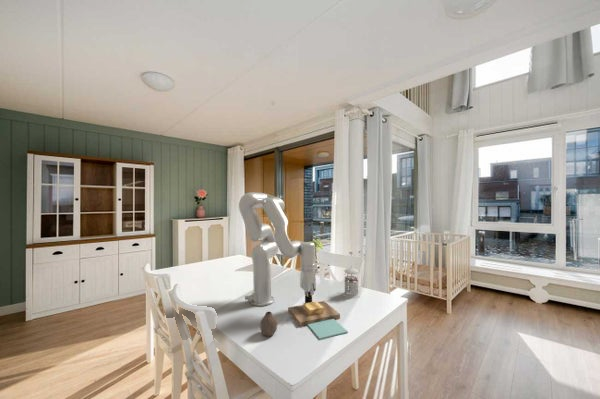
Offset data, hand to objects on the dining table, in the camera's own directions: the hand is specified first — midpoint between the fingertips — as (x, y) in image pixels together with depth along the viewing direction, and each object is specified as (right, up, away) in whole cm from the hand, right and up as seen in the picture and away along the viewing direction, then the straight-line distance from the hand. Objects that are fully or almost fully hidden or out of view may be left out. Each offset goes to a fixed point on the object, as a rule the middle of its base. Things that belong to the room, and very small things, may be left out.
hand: (308, 303), depth 124 cm
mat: (+7, -3, -18) cm, 20 cm away
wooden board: (+2, -3, -5) cm, 7 cm away
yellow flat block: (+2, -1, -5) cm, 6 cm away
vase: (-17, -4, -22) cm, 28 cm away
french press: (+25, -3, +20) cm, 32 cm away
